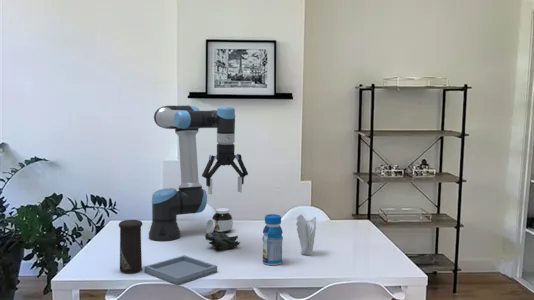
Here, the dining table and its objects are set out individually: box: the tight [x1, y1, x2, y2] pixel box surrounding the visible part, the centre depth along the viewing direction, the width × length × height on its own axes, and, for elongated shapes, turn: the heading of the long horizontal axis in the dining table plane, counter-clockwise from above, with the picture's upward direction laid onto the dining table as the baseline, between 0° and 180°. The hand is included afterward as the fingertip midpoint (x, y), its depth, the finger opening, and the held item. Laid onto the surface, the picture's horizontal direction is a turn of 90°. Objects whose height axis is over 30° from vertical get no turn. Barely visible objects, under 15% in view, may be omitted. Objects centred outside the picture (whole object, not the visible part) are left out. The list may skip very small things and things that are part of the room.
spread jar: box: [205, 207, 234, 234], centre depth 266 cm, size 12×11×12 cm
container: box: [118, 219, 143, 274], centre depth 205 cm, size 9×9×20 cm
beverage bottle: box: [262, 213, 284, 266], centre depth 218 cm, size 8×8×20 cm
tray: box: [143, 255, 218, 286], centre depth 205 cm, size 20×20×2 cm
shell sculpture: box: [296, 214, 317, 256], centre depth 231 cm, size 8×8×18 cm
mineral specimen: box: [204, 232, 241, 251], centre depth 238 cm, size 15×13×10 cm
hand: (225, 192), depth 224 cm, fingers open, 13 cm apart
